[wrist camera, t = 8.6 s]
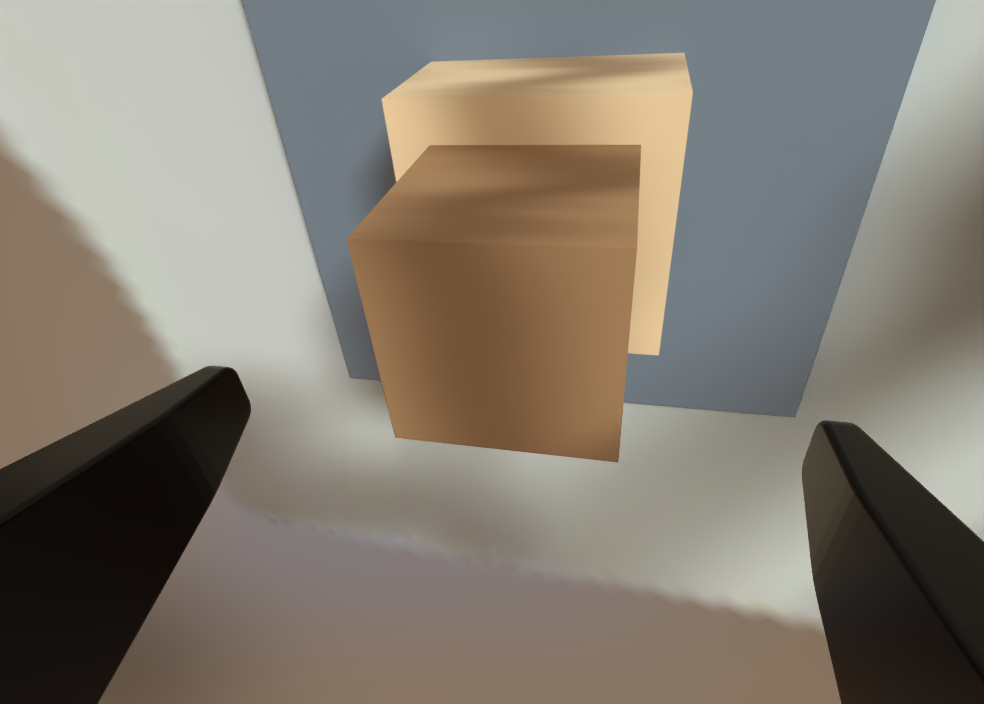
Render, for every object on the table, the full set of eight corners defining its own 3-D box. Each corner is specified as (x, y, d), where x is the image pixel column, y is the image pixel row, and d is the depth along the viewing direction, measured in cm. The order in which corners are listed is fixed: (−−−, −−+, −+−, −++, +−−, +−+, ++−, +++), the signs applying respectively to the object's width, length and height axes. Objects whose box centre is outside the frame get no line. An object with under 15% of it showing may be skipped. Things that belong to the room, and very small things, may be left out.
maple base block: (684, 52, 15) (692, 92, 12) (657, 283, 19) (658, 355, 16) (431, 61, 17) (381, 98, 14) (457, 273, 21) (423, 339, 18)
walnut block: (641, 144, 13) (637, 248, 9) (625, 326, 16) (618, 462, 12) (429, 145, 14) (346, 238, 10) (452, 316, 17) (395, 437, 13)
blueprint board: (1016, -278, 11) (1032, -286, 11) (792, 406, 22) (795, 417, 22) (206, -170, 15) (192, -171, 15) (355, 369, 26) (350, 377, 25)
